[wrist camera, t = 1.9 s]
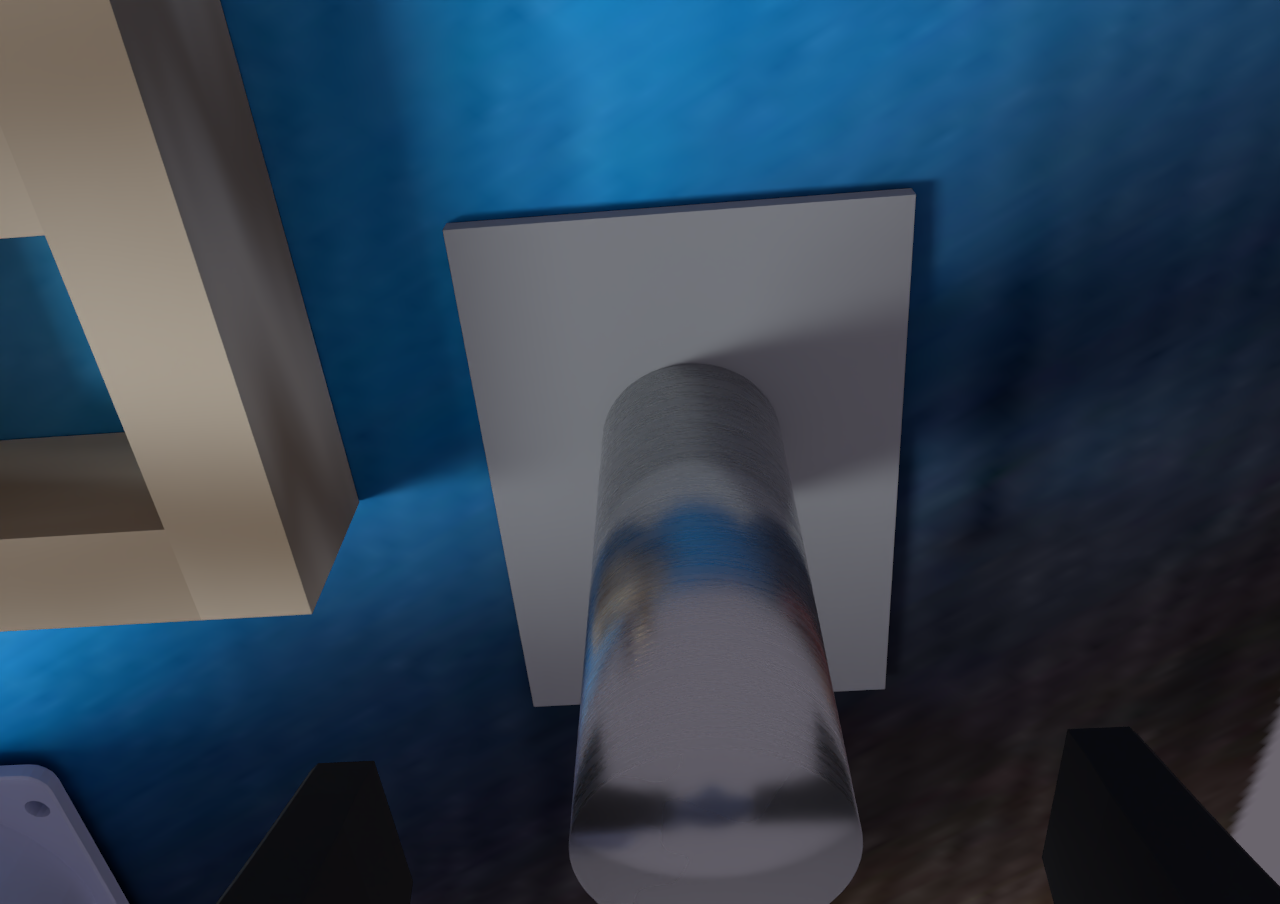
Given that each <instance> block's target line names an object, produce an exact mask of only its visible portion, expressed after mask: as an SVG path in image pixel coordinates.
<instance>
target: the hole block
mask: <svg viewBox="0 0 1280 904" xmlns="http://www.w3.org/2000/svg"><path fill="white" fill-rule="evenodd" d="M42 235H45V237H46V239H47V242H48V244H49V247H50V249H51V252H52V254H53V257H54V259H55V261H56V264H57V266H58V269H59V271H60V274H61V276H62V279H63V281H64V284H65V286H66V288H67V291H68V293H69V296H70V298H71V301H72V303H73V306H74V308H75V311H76V313H77V316H78V318H79V320H80V323H81V325H82V328H83V330H84V333H85V335H86V338H87V340H88V343H89V345H90V347H91V350H92V352H93V355H94V357H95V360H96V362H97V365H98V367H99V370H100V372H101V374H102V377H103V379H104V382H105V384H106V387H107V389H108V392H109V394H110V397H111V399H112V402H113V404H114V406H115V409H116V411H117V414H118V416H119V419H120V421H121V424H122V426H123V429H124V431H125V432H121V433H105V434H90V435H75V436H60V437H45V438H30V439H15V440H0V631H17V630H35V629H53V628H71V627H89V626H107V625H125V624H143V623H160V622H178V621H196V620H214V619H232V618H250V617H268V616H286V615H303V614H312V613H313V610H314V608H315V606H316V603H317V601H318V598H319V596H320V594H321V591H322V589H323V587H324V584H325V582H326V580H327V577H328V575H329V572H330V570H331V568H332V565H333V563H334V561H335V558H336V556H337V554H338V551H339V549H340V546H341V544H342V542H343V539H344V537H345V535H346V532H347V530H348V528H349V525H350V523H351V520H352V518H353V516H354V513H355V511H356V509H357V506H358V504H359V500H358V497H357V493H356V489H355V486H354V482H353V479H352V475H351V471H350V468H349V464H348V461H347V457H346V453H345V450H344V446H343V443H342V439H341V435H340V432H339V428H338V424H337V421H336V417H335V414H334V410H333V406H332V403H331V399H330V396H329V392H328V388H327V385H326V381H325V378H324V374H323V370H322V367H321V363H320V359H319V356H318V352H317V349H316V345H315V341H314V338H313V334H312V331H311V327H310V323H309V320H308V316H307V313H306V309H305V305H304V302H303V298H302V295H301V291H300V287H299V284H298V280H297V276H296V273H295V269H294V266H293V262H292V258H291V255H290V251H289V248H288V244H287V240H286V237H285V233H284V230H283V226H282V222H281V219H280V215H279V211H278V208H277V204H276V201H275V197H274V193H273V190H272V186H271V183H270V179H269V175H268V172H267V168H266V165H265V161H264V157H263V154H262V150H261V146H260V143H259V139H258V136H257V132H256V128H255V125H254V121H253V118H252V114H251V110H250V107H249V103H248V100H247V96H246V92H245V89H244V85H243V82H242V78H241V74H240V71H239V67H238V63H237V60H236V56H235V53H234V49H233V45H232V42H231V38H230V35H229V31H228V27H227V24H226V20H225V17H224V13H223V9H222V6H221V2H220V0H0V239H3V238H16V237H29V236H42Z"/></svg>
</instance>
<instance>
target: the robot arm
mask: <svg viewBox="0 0 1280 904" xmlns="http://www.w3.org/2000/svg"><path fill="white" fill-rule="evenodd" d="M1042 859H1043V863H1044V867H1045V871H1046V874H1047V878H1048V882H1049V886H1050V890H1051V893H1052V897H1053V901H1054V904H1280V886H1279V885H1278V884H1277V883H1276V882H1275V881H1274V880H1273V879H1272V878H1271V877H1270V876H1269V875H1268V874H1267V873H1266V872H1265V871H1264V870H1263V869H1262V868H1261V867H1260V866H1259V865H1258V864H1257V863H1256V862H1255V861H1254V860H1253V858H1252V857H1251V856H1250V855H1249V854H1248V853H1247V852H1246V851H1245V850H1244V849H1243V848H1242V847H1241V846H1240V845H1239V844H1238V843H1237V842H1236V841H1235V840H1234V838H1233V837H1232V836H1231V835H1230V834H1229V833H1228V832H1227V831H1226V830H1225V829H1224V828H1223V827H1222V826H1221V825H1220V824H1219V823H1218V821H1217V820H1216V819H1215V818H1214V817H1213V816H1212V815H1211V814H1210V813H1209V812H1208V811H1207V810H1206V809H1205V808H1204V806H1203V805H1202V804H1201V803H1200V802H1199V801H1198V800H1197V799H1196V798H1195V797H1194V796H1193V795H1192V793H1191V792H1190V791H1189V790H1188V789H1187V788H1186V787H1185V786H1184V785H1183V784H1182V783H1181V781H1180V780H1179V779H1178V778H1177V777H1176V776H1175V775H1174V774H1173V773H1172V772H1171V770H1170V769H1169V768H1168V767H1167V766H1166V765H1165V764H1164V763H1163V762H1162V761H1161V759H1160V758H1159V757H1158V756H1157V755H1156V754H1155V753H1154V752H1153V751H1152V750H1151V748H1150V747H1149V746H1148V745H1147V744H1146V743H1145V742H1144V741H1143V740H1142V739H1141V738H1140V736H1139V735H1138V734H1137V733H1135V732H1134V731H1133V730H1132V729H1131V728H1130V727H1111V728H1089V729H1068V730H1067V735H1066V740H1065V745H1064V750H1063V755H1062V760H1061V765H1060V770H1059V775H1058V780H1057V785H1056V790H1055V795H1054V800H1053V805H1052V810H1051V815H1050V820H1049V825H1048V830H1047V835H1046V840H1045V845H1044V850H1043V855H1042ZM412 884H413V880H412V877H411V874H410V871H409V868H408V865H407V862H406V858H405V855H404V852H403V849H402V846H401V843H400V840H399V837H398V834H397V830H396V827H395V824H394V821H393V818H392V815H391V812H390V809H389V806H388V802H387V799H386V796H385V793H384V790H383V787H382V784H381V781H380V778H379V774H378V771H377V768H376V765H375V762H374V761H359V762H337V763H318V764H317V765H316V766H315V767H314V768H313V769H312V770H311V771H310V772H309V774H308V775H307V777H306V778H305V780H304V781H303V782H302V784H301V785H300V787H299V788H298V790H297V791H296V792H295V794H294V795H293V797H292V798H291V800H290V801H289V802H288V804H287V805H286V807H285V808H284V810H283V811H282V812H281V814H280V815H279V817H278V818H277V820H276V821H275V822H274V824H273V825H272V827H271V828H270V830H269V831H268V832H267V834H266V835H265V837H264V838H263V840H262V841H261V842H260V844H259V845H258V847H257V848H256V849H255V851H254V852H253V854H252V855H251V856H250V858H249V859H248V860H247V862H246V863H245V865H244V866H243V867H242V869H241V870H240V872H239V873H238V874H237V876H236V877H235V878H234V880H233V881H232V883H231V884H230V885H229V887H228V888H227V889H226V891H225V892H224V893H223V895H222V896H221V897H220V899H219V900H218V901H217V903H216V904H410V899H411V892H412ZM0 904H129V902H128V900H127V899H126V897H125V895H124V893H123V892H122V890H121V888H120V886H119V885H118V883H117V881H116V879H115V877H114V876H113V874H112V872H111V870H110V869H109V867H108V865H107V863H106V862H105V860H104V858H103V856H102V854H101V853H100V851H99V849H98V847H97V846H96V844H95V842H94V840H93V839H92V837H91V835H90V833H89V832H88V830H87V828H86V826H85V824H84V823H83V821H82V819H81V817H80V816H79V814H78V812H77V810H76V809H75V807H74V805H73V803H72V801H71V800H70V798H69V796H68V794H67V793H66V791H65V789H64V787H63V786H62V784H61V782H60V780H59V779H58V777H57V776H56V775H55V774H54V772H52V771H51V770H49V769H47V768H45V767H42V766H39V765H32V764H24V765H3V766H0Z"/></svg>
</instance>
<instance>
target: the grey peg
mask: <svg viewBox="0 0 1280 904" xmlns="http://www.w3.org/2000/svg"><path fill="white" fill-rule="evenodd" d="M862 849H863V837H862V830H861V825H860V820H859V815H858V810H857V805H856V800H855V795H854V790H853V785H852V780H851V775H850V771H849V766H848V761H847V756H846V751H845V746H844V741H843V736H842V731H841V726H840V721H839V716H838V711H837V706H836V701H835V697H834V692H833V687H832V682H831V677H830V672H829V667H828V662H827V657H826V652H825V647H824V642H823V637H822V632H821V627H820V623H819V618H818V613H817V608H816V603H815V598H814V593H813V588H812V583H811V578H810V573H809V568H808V563H807V558H806V554H805V549H804V544H803V539H802V534H801V529H800V524H799V519H798V514H797V509H796V504H795V499H794V494H793V489H792V484H791V480H790V475H789V470H788V465H787V460H786V455H785V450H784V445H783V440H782V435H781V430H780V426H779V422H778V417H777V415H776V413H775V410H774V408H773V406H772V404H771V403H770V401H769V399H768V398H767V397H766V396H765V394H764V393H763V392H762V391H761V390H760V389H759V388H758V387H757V386H756V385H755V384H754V383H752V382H751V381H749V380H748V379H747V378H745V377H744V376H742V375H740V374H738V373H736V372H734V371H731V370H729V369H726V368H723V367H719V366H715V365H711V364H702V363H684V364H676V365H671V366H667V367H663V368H660V369H658V370H655V371H652V372H650V373H648V374H646V375H644V376H642V377H641V378H639V379H638V380H636V381H635V382H633V383H632V384H631V385H630V386H628V387H627V388H626V389H625V390H624V391H623V392H622V393H621V394H620V396H619V397H618V398H617V399H616V401H615V402H614V404H613V405H612V407H611V409H610V411H609V413H608V415H607V417H606V420H605V424H604V428H603V436H602V448H601V460H600V472H599V484H598V496H597V508H596V520H595V533H594V545H593V557H592V569H591V581H590V593H589V605H588V618H587V630H586V642H585V654H584V666H583V678H582V691H581V703H580V715H579V727H578V739H577V751H576V763H575V776H574V788H573V800H572V812H571V824H570V836H569V856H570V861H571V865H572V868H573V871H574V873H575V875H576V877H577V879H578V881H579V883H580V884H581V885H582V887H583V888H584V889H585V891H586V892H587V893H588V894H589V895H590V896H591V897H592V898H593V899H594V900H595V901H596V902H597V903H598V904H829V903H831V902H832V901H833V900H834V899H835V898H836V897H837V896H838V895H839V894H840V893H841V892H842V891H843V890H844V889H845V887H846V886H847V885H848V884H849V883H850V881H851V879H852V878H853V876H854V874H855V872H856V871H857V868H858V865H859V863H860V860H861V856H862Z"/></svg>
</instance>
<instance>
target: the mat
mask: <svg viewBox="0 0 1280 904" xmlns="http://www.w3.org/2000/svg"><path fill="white" fill-rule="evenodd" d="M915 201H916V194H915V192H914V191H913V190H912V188H906V189H893V190H880V191H866V192H853V193H840V194H827V195H814V196H801V197H787V198H774V199H761V200H748V201H735V202H721V203H708V204H695V205H682V206H669V207H656V208H642V209H629V210H616V211H603V212H590V213H576V214H563V215H550V216H537V217H524V218H511V219H497V220H484V221H471V222H458V223H446V225H445V227H444V229H443V235H444V240H445V245H446V250H447V255H448V261H449V266H450V271H451V276H452V282H453V287H454V292H455V297H456V303H457V308H458V313H459V318H460V323H461V329H462V334H463V339H464V344H465V350H466V355H467V360H468V365H469V370H470V376H471V381H472V386H473V391H474V397H475V402H476V407H477V412H478V418H479V423H480V428H481V433H482V438H483V444H484V449H485V454H486V459H487V465H488V470H489V475H490V480H491V485H492V491H493V496H494V501H495V506H496V512H497V517H498V522H499V527H500V533H501V538H502V543H503V548H504V553H505V559H506V564H507V569H508V574H509V580H510V585H511V590H512V595H513V600H514V606H515V611H516V616H517V621H518V627H519V632H520V637H521V642H522V648H523V653H524V658H525V663H526V668H527V674H528V679H529V684H530V689H531V695H532V700H533V705H534V707H539V706H559V705H579V704H580V703H581V691H582V678H583V666H584V654H585V642H586V630H587V618H588V605H589V593H590V581H591V569H592V557H593V545H594V533H595V520H596V508H597V496H598V484H599V472H600V460H601V448H602V436H603V428H604V424H605V420H606V417H607V415H608V413H609V411H610V409H611V407H612V405H613V404H614V402H615V401H616V399H617V398H618V397H619V396H620V394H621V393H622V392H623V391H624V390H625V389H626V388H627V387H628V386H630V385H631V384H632V383H633V382H635V381H636V380H638V379H639V378H641V377H642V376H644V375H646V374H648V373H650V372H652V371H655V370H658V369H660V368H663V367H667V366H671V365H676V364H684V363H702V364H711V365H715V366H719V367H723V368H726V369H729V370H731V371H734V372H736V373H738V374H740V375H742V376H744V377H745V378H747V379H748V380H749V381H751V382H752V383H754V384H755V385H756V386H757V387H758V388H759V389H760V390H761V391H762V392H763V393H764V394H765V396H766V397H767V398H768V399H769V401H770V403H771V404H772V406H773V408H774V410H775V413H776V415H777V417H778V422H779V426H780V430H781V435H782V440H783V445H784V450H785V455H786V460H787V465H788V470H789V475H790V480H791V484H792V489H793V494H794V499H795V504H796V509H797V514H798V519H799V524H800V529H801V534H802V539H803V544H804V549H805V554H806V558H807V563H808V568H809V573H810V578H811V583H812V588H813V593H814V598H815V603H816V608H817V613H818V618H819V623H820V627H821V632H822V637H823V642H824V647H825V652H826V657H827V662H828V667H829V672H830V677H831V682H832V687H833V692H836V691H856V690H876V689H885V680H886V664H887V648H888V632H889V616H890V600H891V584H892V568H893V552H894V536H895V520H896V504H897V488H898V472H899V456H900V441H901V425H902V409H903V393H904V377H905V361H906V345H907V329H908V313H909V297H910V281H911V265H912V249H913V233H914V217H915Z"/></svg>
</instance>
